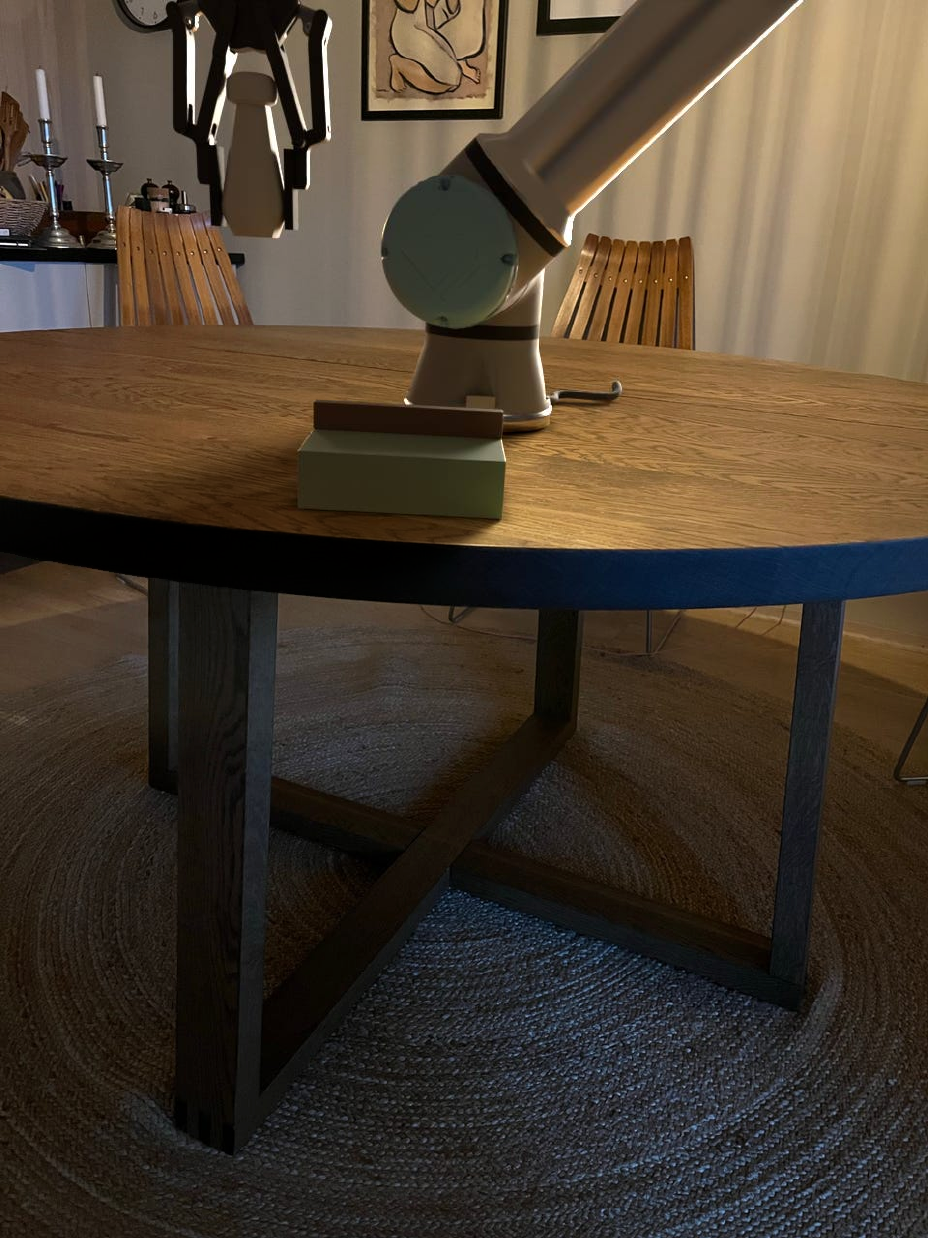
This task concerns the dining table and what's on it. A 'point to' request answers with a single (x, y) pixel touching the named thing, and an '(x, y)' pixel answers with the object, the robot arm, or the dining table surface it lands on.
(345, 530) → the dining table surface
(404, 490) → the spice shelf
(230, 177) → the salt shaker
